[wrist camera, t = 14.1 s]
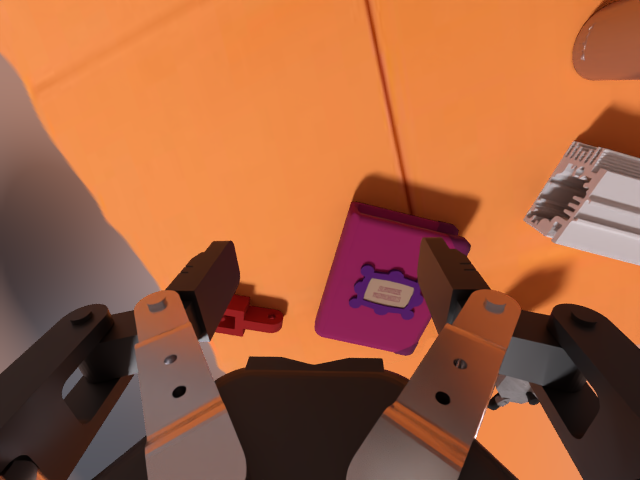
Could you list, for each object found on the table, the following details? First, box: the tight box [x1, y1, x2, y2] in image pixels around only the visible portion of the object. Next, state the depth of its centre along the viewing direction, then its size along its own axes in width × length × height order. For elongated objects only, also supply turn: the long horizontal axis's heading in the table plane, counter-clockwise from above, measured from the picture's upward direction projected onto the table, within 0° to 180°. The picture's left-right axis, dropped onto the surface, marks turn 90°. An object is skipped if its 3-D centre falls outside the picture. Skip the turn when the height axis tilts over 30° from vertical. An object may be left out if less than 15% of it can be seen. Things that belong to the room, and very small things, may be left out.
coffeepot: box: [487, 374, 539, 410], centre depth 58 cm, size 15×9×18 cm, turn 145°
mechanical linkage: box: [215, 295, 283, 337], centre depth 65 cm, size 16×7×5 cm, turn 81°
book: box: [315, 202, 471, 356], centre depth 57 cm, size 21×28×8 cm
